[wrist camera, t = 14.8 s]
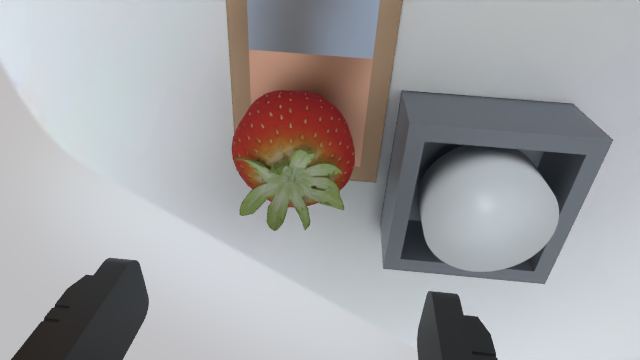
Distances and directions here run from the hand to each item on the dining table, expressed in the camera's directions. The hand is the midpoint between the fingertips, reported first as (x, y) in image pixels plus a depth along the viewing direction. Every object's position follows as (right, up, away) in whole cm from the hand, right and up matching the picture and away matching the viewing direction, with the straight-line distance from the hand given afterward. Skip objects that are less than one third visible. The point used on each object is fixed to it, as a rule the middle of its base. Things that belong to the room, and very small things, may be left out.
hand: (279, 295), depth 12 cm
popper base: (+9, +4, +12) cm, 16 cm away
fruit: (0, +7, +10) cm, 12 cm away
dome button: (+9, +2, +10) cm, 14 cm away
